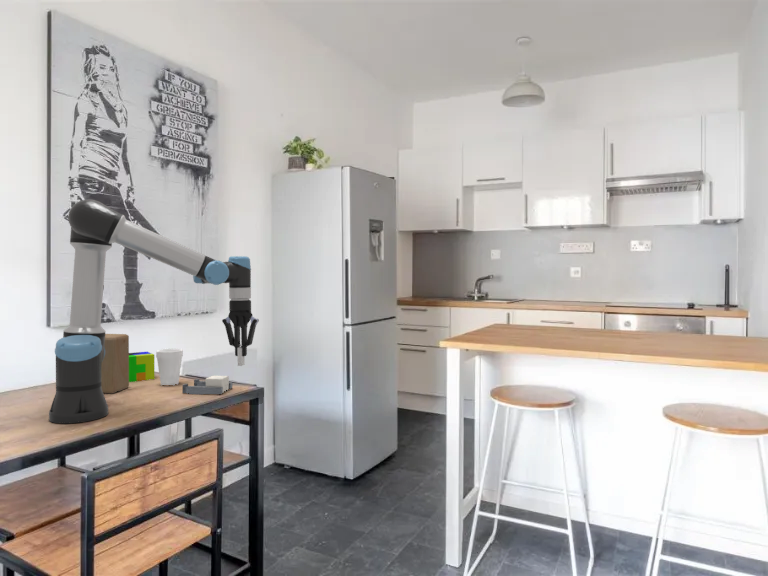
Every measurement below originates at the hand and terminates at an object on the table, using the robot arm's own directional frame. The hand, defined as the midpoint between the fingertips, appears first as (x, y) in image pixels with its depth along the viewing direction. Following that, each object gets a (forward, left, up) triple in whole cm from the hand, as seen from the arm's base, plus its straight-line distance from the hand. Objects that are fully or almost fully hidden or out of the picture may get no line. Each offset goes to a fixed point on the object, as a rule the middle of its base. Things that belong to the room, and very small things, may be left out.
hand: (241, 365), depth 186 cm
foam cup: (+9, +32, -10) cm, 34 cm away
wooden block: (-4, +48, -10) cm, 49 cm away
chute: (0, +12, -10) cm, 16 cm away
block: (0, +9, -10) cm, 13 cm away
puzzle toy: (+16, +49, -10) cm, 53 cm away
